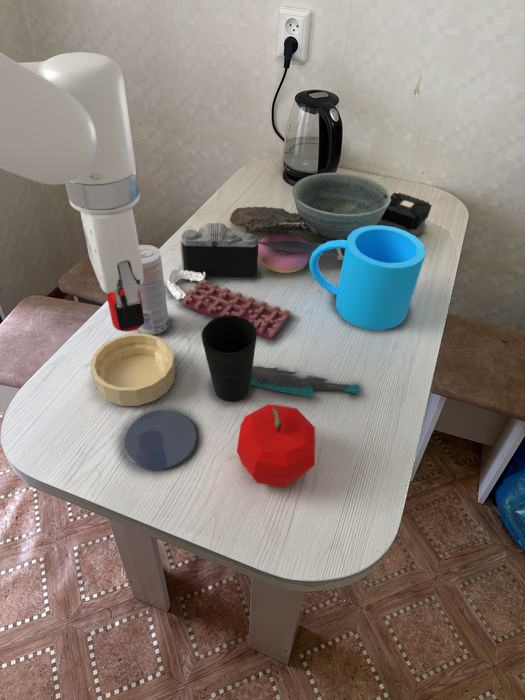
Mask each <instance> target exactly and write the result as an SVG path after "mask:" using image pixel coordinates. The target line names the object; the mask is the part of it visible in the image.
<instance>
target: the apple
mask: <svg viewBox="0 0 525 700" xmlns="http://www.w3.org/2000/svg"><path fill="white" fill-rule="evenodd" d="M273 400H274V399H272V404H271V403H267V404H265V405H264V406H262V407H260V408H259V409H256V410H255V411H253V412H250V413H249V414H247V415H244V417H243V420H242V422H241V423H240V425H239V432H238V433H239V434H238V440H237V446H236V452H237V455H238V458H239V460H240V462H241V465H242V466H243V467H244V469H245V470H246V471H247V472H248V474H249V475H250V476H251V477H252V479H253V480H254V482H256V484H260V485H267V486H273V487H280V488H286V487H287V486H288V485H290V484H292V483H294V482H295V481H296V480H298V479H300V478H301V477H303V476H305V475H306V474H307V473H308V472H309V471H311V469H312V468H313V467H314V466H315V465H316V462H315V461H316V427H315V425H313V423H311V422H310V421H309V419H307V417H306V416H305V415H303V413H302V412H301V411H300V410H298V408H296V407H291V406H284V405H277V404H273Z"/></svg>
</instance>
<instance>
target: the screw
mask: <svg viewBox="0 0 525 700" xmlns="http://www.w3.org/2000/svg"><path fill="white" fill-rule="evenodd" d="M384 198H385V199H387V198H388V195H387V194H384V195H383V197H382V198H380V199H379V200H377V201H375V202H374V203H372V204H370V205H368V206H367V207H365V208H364V209H366V208H368V207H370V206H372V205H373V204H375V203H377V202H378V201H380V200H382V199H384Z"/></svg>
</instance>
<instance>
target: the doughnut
mask: <svg viewBox="0 0 525 700" xmlns="http://www.w3.org/2000/svg"><path fill="white" fill-rule="evenodd" d="M282 241H295V242H306V240H304V239H303V238H302V236H299V235H296V234H294V233H293V232H291V231H290V232H288V233H286V234H280V233H276V232H273V231H272V232H271V233H268V234H266V235H264V236H263V237H262V238H261V239H260V241H259V240H258V242H282ZM284 252H286V253H284ZM310 258H311V253H305V252H293V251H284V250H278V249H273V248H271V247H268V246H265V245H262V244H260V243H259V246H258V260H259V262H260V263H261V264H262V265H263V266H264V267H265V268H266V269H269V270H271V271H273V272H276V273H281V274H292V273H297V272H299V271H300V270H302V269H303V268H304V267H306V266H307V264H308V263H309V261H310Z"/></svg>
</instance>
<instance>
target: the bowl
mask: <svg viewBox="0 0 525 700" xmlns="http://www.w3.org/2000/svg"><path fill="white" fill-rule="evenodd" d="M291 193H292V197H293V199H294V204H295V207H296V211H297V212H296V213H299V214H301V216H303V217H304V218H305V219H307V220H308V222H309V223H311V224H312V227H313V228H315V231H316V233H315V234H316V235H317V236H318V237H319V238H320V239H322V240H324V241H327V242H329V241H335V240H347V238H348V236H349V235H350V234H351V232H352V231H354V230H356V229H358V228H360V227H365V226H370V225H377V224H379V220H380V219H381V218H382V216H383V214H384V212H385V210H386V208H387V207H388V206H389V204H390V202H391V193H390V191H389V189H387V188H386V187H385V185H383V184H382V183H380V182H379V181H376V180H374V179H372V178H369V177H366V176H363V175H359V174H353V173H345V172H323V173H316V174H312V175H308V176H306V177H304V178H301V179H300V180H298V181H297V182H296V183H294V185H293V186H292V190H291ZM384 194H387V195H388V198H387V199H385V198H384V199H382V200H380V201H378V202H377V203H375V204H373V205H372V206H370V207H368V208H366V209H364V208H365V207H367V206H368V205H370V204H372V203H374V202H375V201H377V200H379V199H380V198H382V197H383V195H384Z"/></svg>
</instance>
